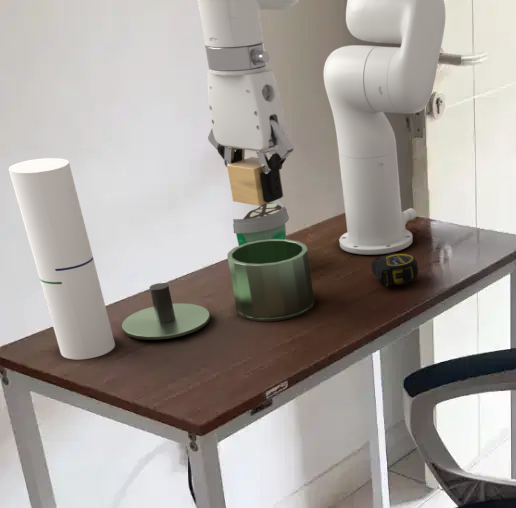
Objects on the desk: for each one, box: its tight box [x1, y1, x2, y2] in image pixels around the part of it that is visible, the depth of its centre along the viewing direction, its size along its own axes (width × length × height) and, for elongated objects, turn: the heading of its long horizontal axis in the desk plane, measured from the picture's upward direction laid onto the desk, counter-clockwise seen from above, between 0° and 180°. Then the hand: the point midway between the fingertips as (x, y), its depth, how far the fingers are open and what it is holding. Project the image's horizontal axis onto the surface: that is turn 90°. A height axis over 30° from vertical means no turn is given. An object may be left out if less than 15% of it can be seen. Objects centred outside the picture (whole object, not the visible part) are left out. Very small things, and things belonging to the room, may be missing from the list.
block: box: [226, 156, 284, 207], centre depth 140 cm, size 5×5×5 cm
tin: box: [227, 238, 315, 323], centre depth 148 cm, size 11×11×8 cm
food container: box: [232, 199, 290, 246], centre depth 161 cm, size 12×6×10 cm, turn 168°
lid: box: [121, 282, 211, 341], centre depth 144 cm, size 12×12×6 cm
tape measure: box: [370, 252, 419, 288], centre depth 157 cm, size 7×7×4 cm
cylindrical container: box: [8, 157, 116, 360], centre depth 133 cm, size 7×7×25 cm
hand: (258, 196), depth 141 cm, fingers closed on block, 5 cm apart
